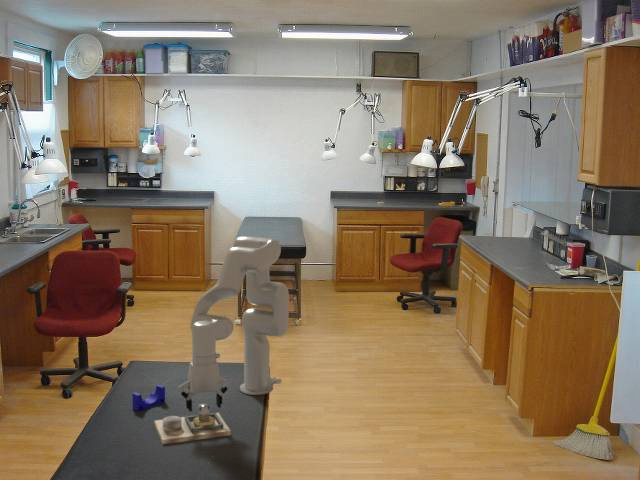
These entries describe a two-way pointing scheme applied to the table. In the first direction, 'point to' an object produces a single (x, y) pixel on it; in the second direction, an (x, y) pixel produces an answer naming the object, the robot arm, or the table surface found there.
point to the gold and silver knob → (203, 417)
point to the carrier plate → (189, 429)
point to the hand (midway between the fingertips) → (204, 408)
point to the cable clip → (149, 399)
